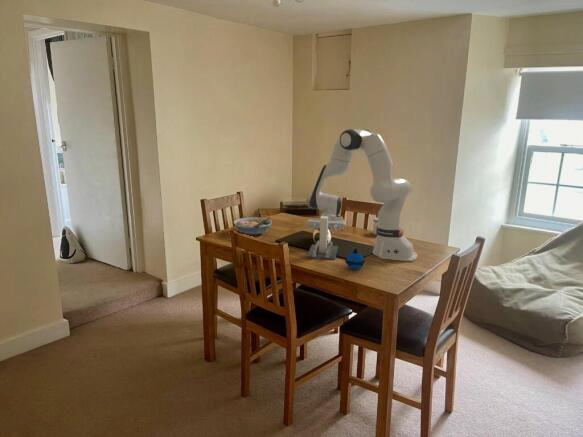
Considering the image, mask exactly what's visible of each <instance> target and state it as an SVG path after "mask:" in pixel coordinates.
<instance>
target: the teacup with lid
mask: <svg viewBox="0 0 583 437" xmlns="http://www.w3.org/2000/svg"><path fill="white" fill-rule="evenodd" d="M372 226H373V228H372V234H373V235H375V236H376V228H377V226H378V216H377V217H374V218H373V225H372Z"/></svg>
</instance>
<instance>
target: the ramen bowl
mask: <svg viewBox="0 0 583 437" xmlns="http://www.w3.org/2000/svg"><path fill="white" fill-rule="evenodd" d="M272 223H273V220H271V217H268V218H264V217H257V216H255V217H253V216H251V217H242V218H237V219H235V220H234V221H233V224H234V226H235V227H236V229H237V230H238V231H239V232H241V233H243V234H245V235H248V236H258V235H260V234H262V233H265V232H266V231H268V229H269V228H270V227H271V225H272Z"/></svg>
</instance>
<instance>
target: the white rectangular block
mask: <svg viewBox="0 0 583 437" xmlns="http://www.w3.org/2000/svg"><path fill="white" fill-rule="evenodd" d="M320 217H321V218H320ZM320 217H319V219H320V228H319V241H320V243H319V252H324V253H326V251H327V246H328V235H329V234H328V233H329V232H328V216H321V215H320Z"/></svg>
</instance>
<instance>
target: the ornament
mask: <svg viewBox="0 0 583 437" xmlns="http://www.w3.org/2000/svg"><path fill="white" fill-rule="evenodd" d="M364 263H365V258H364V256H363V255H362V254H361V252H358V249H357V248H354V250H353V251H352V252H350V253H349V254H347V256H346V257H345V264H346V266H347V267H348V268H349V269H351V270H353V271H356V270H359V269H361V268H362V267H363V266H364Z"/></svg>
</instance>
